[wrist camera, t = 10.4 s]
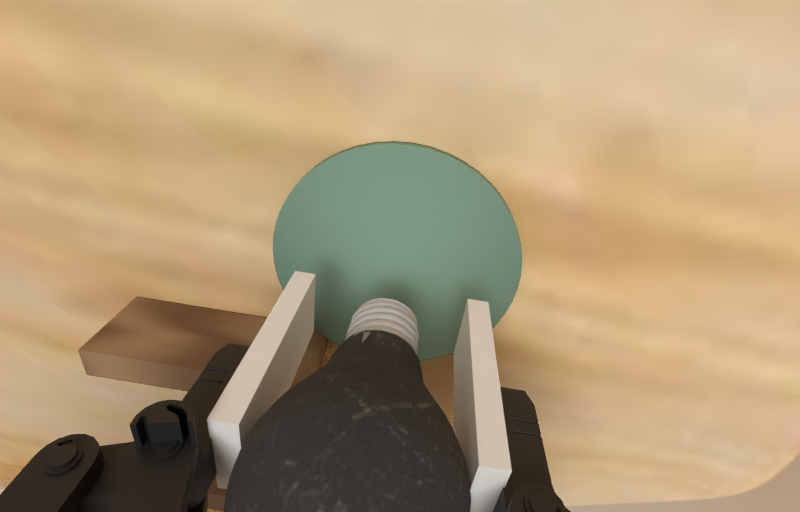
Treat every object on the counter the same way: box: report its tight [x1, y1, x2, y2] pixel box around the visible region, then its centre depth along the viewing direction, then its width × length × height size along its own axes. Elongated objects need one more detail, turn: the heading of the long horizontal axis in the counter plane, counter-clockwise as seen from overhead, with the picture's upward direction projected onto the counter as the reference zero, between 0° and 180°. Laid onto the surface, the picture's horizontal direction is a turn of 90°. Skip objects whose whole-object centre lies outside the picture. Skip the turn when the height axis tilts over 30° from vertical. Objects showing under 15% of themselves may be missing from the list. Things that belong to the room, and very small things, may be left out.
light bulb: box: [224, 298, 471, 512], centre depth 12 cm, size 6×6×10 cm
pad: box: [273, 141, 522, 361], centre depth 19 cm, size 11×11×1 cm
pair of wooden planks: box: [78, 297, 327, 511], centre depth 23 cm, size 10×11×4 cm
